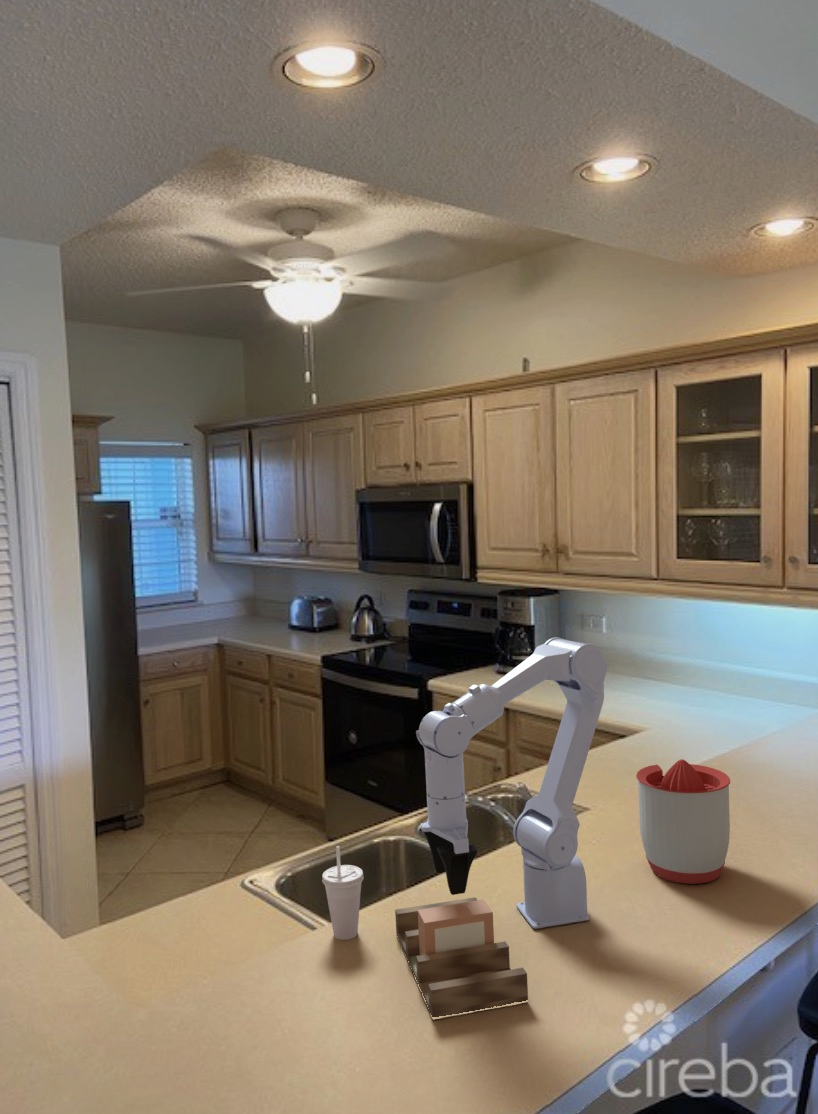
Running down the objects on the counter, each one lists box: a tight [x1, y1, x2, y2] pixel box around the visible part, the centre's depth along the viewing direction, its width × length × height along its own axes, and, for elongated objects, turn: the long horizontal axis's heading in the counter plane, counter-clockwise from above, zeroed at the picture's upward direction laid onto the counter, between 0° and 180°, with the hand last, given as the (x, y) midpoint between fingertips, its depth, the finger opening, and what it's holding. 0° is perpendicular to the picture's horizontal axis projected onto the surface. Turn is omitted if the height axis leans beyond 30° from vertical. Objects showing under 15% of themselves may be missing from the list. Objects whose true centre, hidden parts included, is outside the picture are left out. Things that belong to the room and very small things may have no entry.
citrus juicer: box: [635, 758, 731, 885], centre depth 145 cm, size 16×17×20 cm
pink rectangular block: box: [418, 899, 495, 956], centre depth 118 cm, size 4×10×7 cm, turn 103°
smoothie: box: [321, 845, 364, 941], centre depth 128 cm, size 6×6×14 cm
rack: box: [394, 897, 529, 1017], centre depth 118 cm, size 13×22×4 cm, turn 13°
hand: (450, 881), depth 124 cm, fingers open, 7 cm apart
